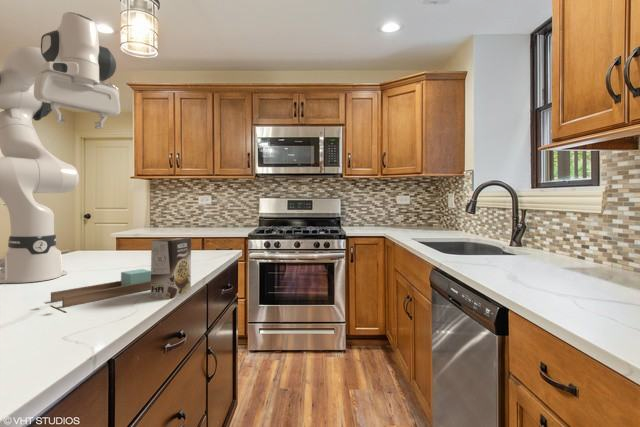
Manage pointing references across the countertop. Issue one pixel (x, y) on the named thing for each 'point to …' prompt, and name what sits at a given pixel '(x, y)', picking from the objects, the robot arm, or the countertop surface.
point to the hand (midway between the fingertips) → (80, 125)
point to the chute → (96, 293)
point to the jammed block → (135, 277)
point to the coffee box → (170, 267)
